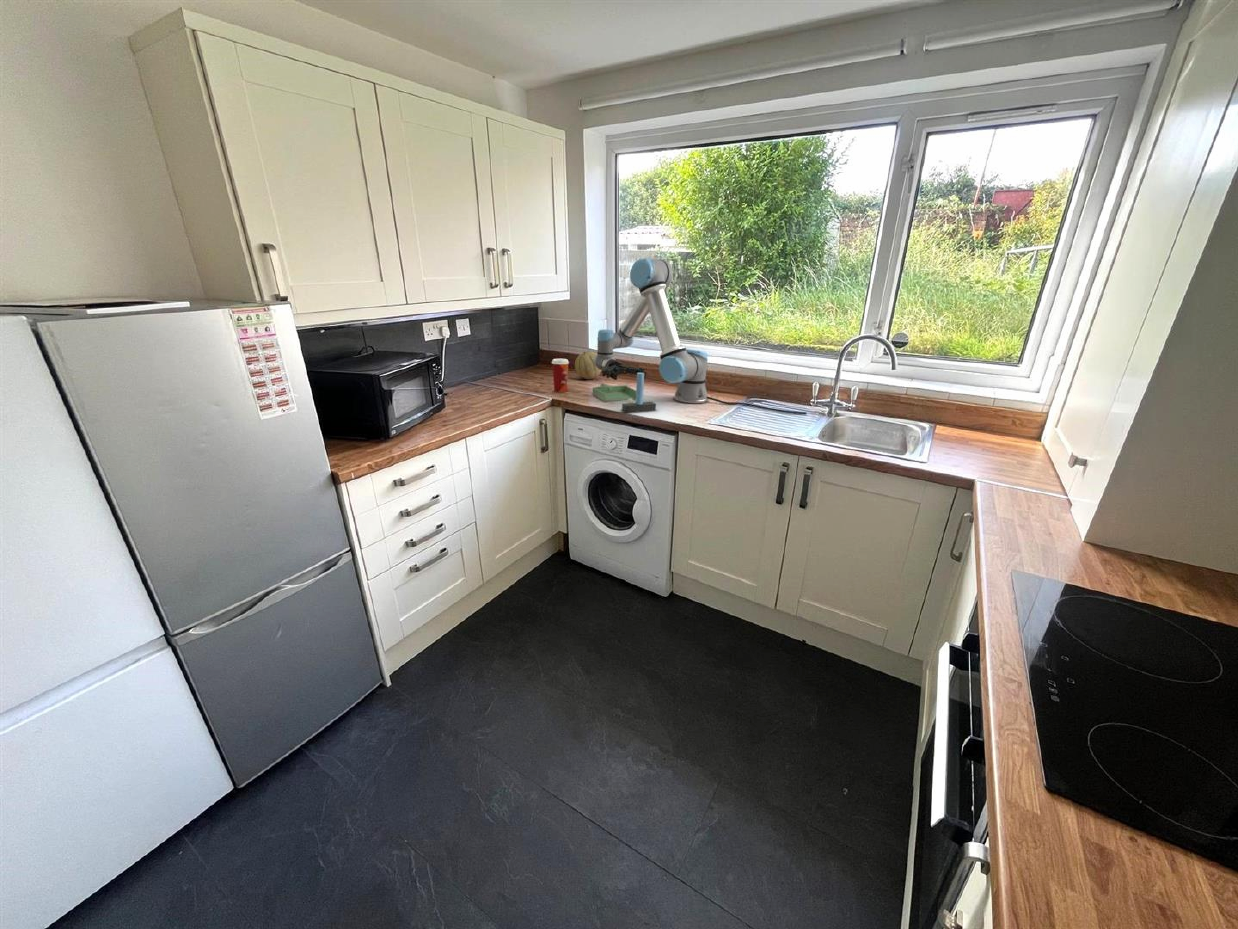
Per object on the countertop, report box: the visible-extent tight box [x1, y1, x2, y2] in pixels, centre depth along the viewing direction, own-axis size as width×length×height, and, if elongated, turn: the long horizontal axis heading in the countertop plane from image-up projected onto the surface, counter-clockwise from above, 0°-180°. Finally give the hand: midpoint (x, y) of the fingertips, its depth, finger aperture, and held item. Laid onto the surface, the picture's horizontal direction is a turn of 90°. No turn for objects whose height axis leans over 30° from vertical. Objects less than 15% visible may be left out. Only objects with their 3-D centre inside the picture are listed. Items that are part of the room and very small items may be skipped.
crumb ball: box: [626, 398, 635, 404], centre depth 219 cm, size 3×3×3 cm
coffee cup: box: [551, 358, 570, 393], centre depth 239 cm, size 8×8×15 cm
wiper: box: [621, 373, 657, 414], centre depth 209 cm, size 4×14×16 cm, turn 113°
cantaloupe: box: [574, 351, 602, 380], centre depth 267 cm, size 15×15×15 cm
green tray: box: [592, 382, 636, 402], centre depth 238 cm, size 25×17×3 cm
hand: (630, 376), depth 216 cm, fingers open, 13 cm apart
